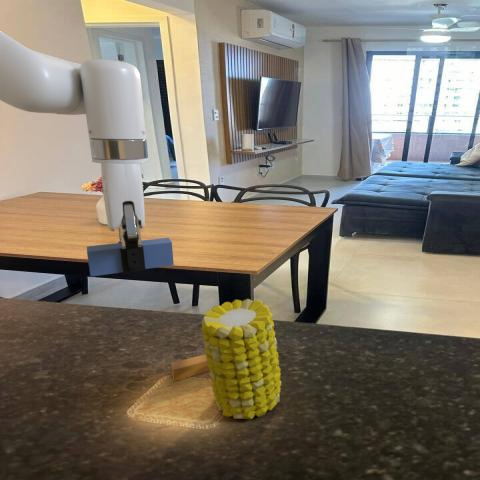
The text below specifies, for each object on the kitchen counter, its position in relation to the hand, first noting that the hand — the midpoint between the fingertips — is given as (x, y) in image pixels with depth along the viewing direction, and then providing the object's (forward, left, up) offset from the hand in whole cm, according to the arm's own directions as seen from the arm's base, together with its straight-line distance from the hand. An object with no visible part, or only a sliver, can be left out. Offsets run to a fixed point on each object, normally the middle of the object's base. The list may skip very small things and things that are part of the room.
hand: (133, 266), depth 62 cm
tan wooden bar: (+9, -11, -15) cm, 21 cm away
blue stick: (0, 0, 0) cm, 0 cm away
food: (+11, -21, -15) cm, 28 cm away
